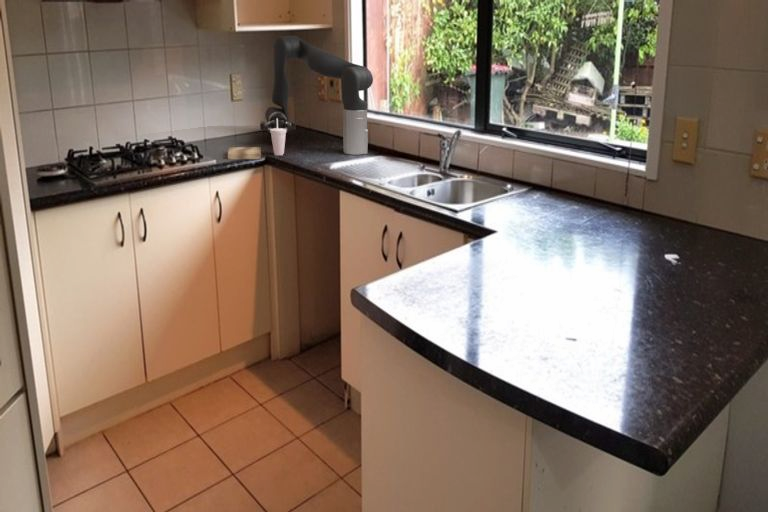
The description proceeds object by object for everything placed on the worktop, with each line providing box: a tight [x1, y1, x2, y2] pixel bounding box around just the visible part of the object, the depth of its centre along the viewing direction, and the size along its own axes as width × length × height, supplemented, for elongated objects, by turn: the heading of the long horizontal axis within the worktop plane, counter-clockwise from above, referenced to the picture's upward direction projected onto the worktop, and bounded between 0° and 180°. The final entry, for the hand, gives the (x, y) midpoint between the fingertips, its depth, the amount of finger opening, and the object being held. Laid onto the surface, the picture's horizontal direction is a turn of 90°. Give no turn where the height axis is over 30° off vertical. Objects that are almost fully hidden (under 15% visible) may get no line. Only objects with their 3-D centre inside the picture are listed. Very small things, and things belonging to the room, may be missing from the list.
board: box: [227, 146, 262, 160], centre depth 273 cm, size 12×12×2 cm
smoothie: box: [269, 118, 288, 156], centre depth 274 cm, size 6×6×14 cm
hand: (278, 128), depth 284 cm, fingers open, 8 cm apart
